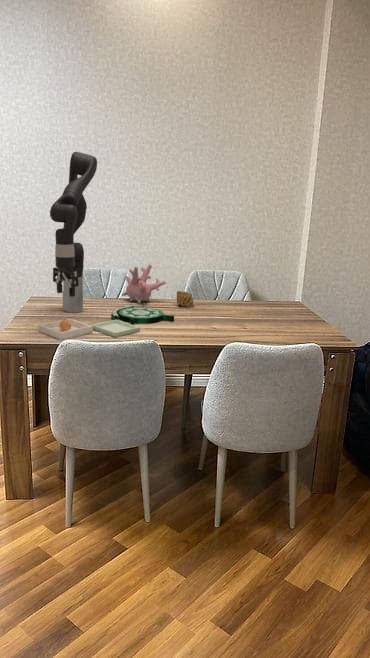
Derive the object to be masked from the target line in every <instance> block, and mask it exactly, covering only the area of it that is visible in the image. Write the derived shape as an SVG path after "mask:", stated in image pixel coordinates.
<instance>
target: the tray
mask: <svg viewBox="0 0 370 658" xmlns="http://www.w3.org/2000/svg"><path fill="white" fill-rule="evenodd" d="M90 325H91V326H93V331H96V332H98V333H100V332H101V334H103V333H104V335H106V334H107V336H110V337H112V338H114V337H115V338H119V337H124V336H128V335H132V334H136V333H140V332H141V326H137V325H136V324H134V325H132V324H130V323H127V322H123V321H121V320H119V319H118V320H112V319H110V320H107V321H103V322H98V323H94V324H93V323H92V324H90Z"/></svg>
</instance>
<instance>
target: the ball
mask: <svg viewBox="0 0 370 658" xmlns="http://www.w3.org/2000/svg"><path fill="white" fill-rule="evenodd" d="M67 319H68V318H65V319H61V320H62V321H61V322H60V324H59V326H60V329H61V330H63V331H68V330H70V329H71V326H72V324H71V322H70V321H69V320H67Z"/></svg>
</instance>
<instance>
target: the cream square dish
mask: <svg viewBox="0 0 370 658" xmlns="http://www.w3.org/2000/svg"><path fill="white" fill-rule="evenodd" d="M66 319H67V320H69V321H70V322H71V324H72V326H71V329H70V330H68V331H63V330H61V329H60V326H59V324H60V322H61V321H62V320H63V319H60V320H54V321H50V322H44V323H38V325H37V326H38V327H37V328H38V330H37V331H38V332H39V333H41V334H43V335H46V336H49V337H52V339H53V338H54V339H56V340H59V341H64V340H68V339H72V338H77V337H81V336H87V335H90V334H91V335H92V334H93V333H94V332H93V331H94V330H93V326H91V325H92V324H88V323H84V322H82V321H80V320H79V321H78V320H76V319H73V318H66Z"/></svg>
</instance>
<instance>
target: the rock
mask: <svg viewBox="0 0 370 658" xmlns="http://www.w3.org/2000/svg"><path fill="white" fill-rule="evenodd" d="M194 302H195V301H194V299H193V298H192V293H189V292H187V291H182V290H177V291H176V303H177V305H178V306H181V307H183V308H184V307H186V308H192V307H194V305H195V303H194Z"/></svg>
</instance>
